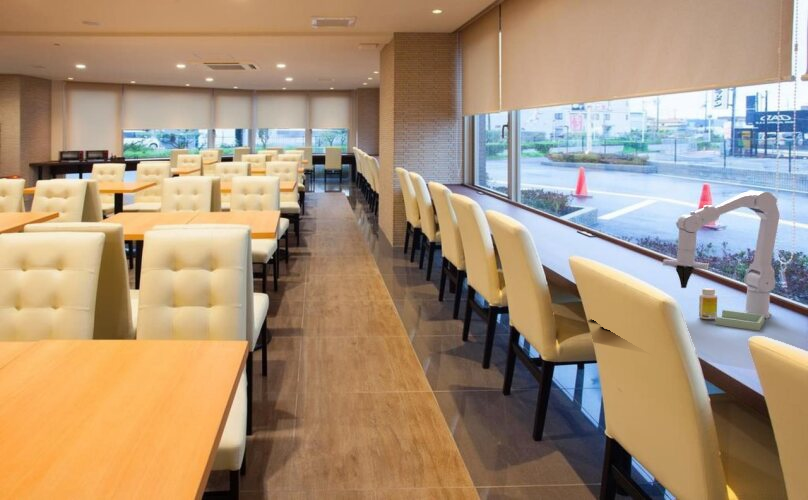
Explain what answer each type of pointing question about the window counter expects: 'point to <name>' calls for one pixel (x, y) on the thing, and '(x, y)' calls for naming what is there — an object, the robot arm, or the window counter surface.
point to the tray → (740, 323)
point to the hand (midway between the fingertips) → (683, 287)
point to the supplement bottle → (708, 304)
